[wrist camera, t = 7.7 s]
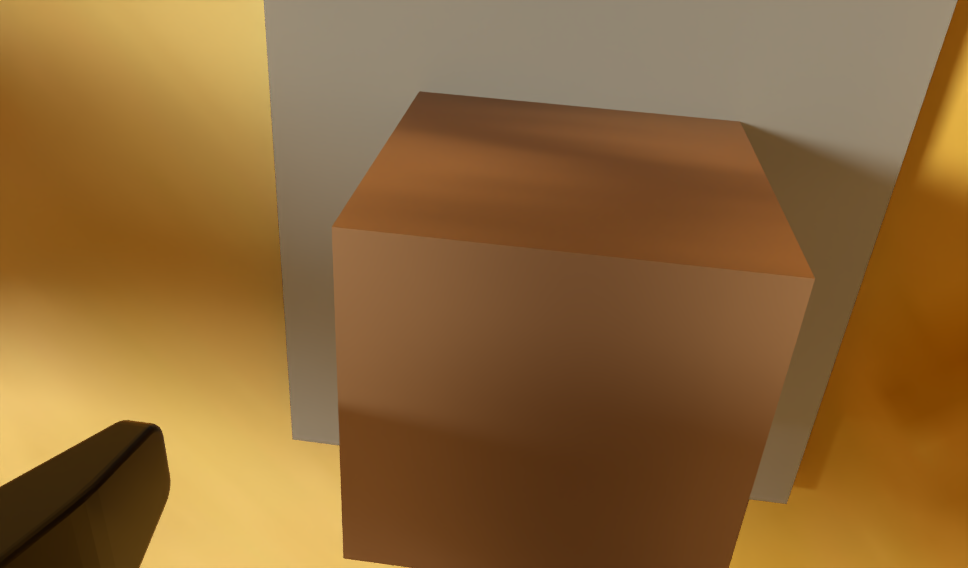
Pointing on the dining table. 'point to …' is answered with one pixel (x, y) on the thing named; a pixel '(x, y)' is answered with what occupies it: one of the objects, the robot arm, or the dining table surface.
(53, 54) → the dining table surface
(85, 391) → the dining table surface
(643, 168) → the walnut cube
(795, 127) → the coaster
